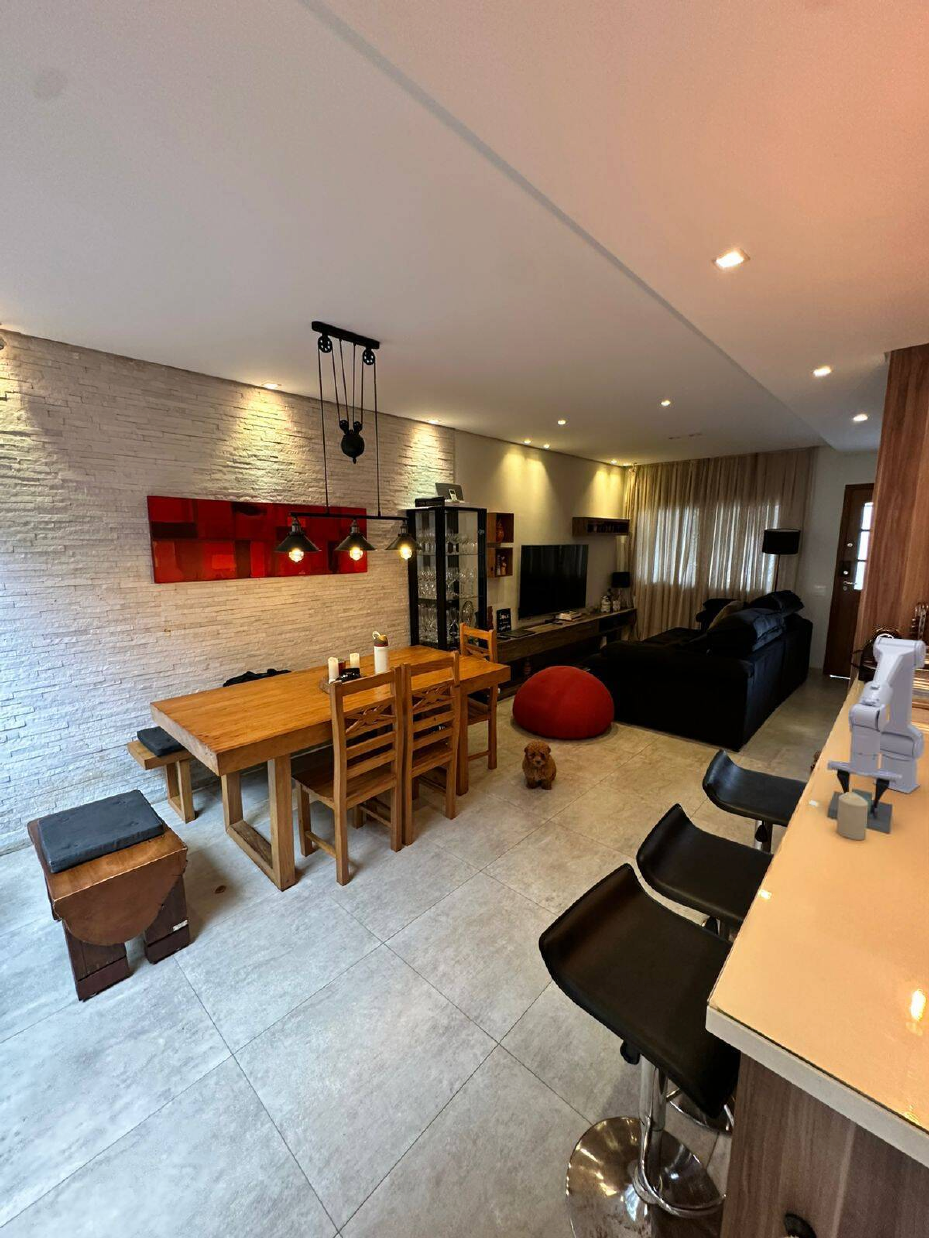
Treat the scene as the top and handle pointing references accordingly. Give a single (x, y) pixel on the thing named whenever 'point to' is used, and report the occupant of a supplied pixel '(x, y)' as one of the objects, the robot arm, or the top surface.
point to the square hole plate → (875, 819)
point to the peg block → (865, 795)
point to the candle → (852, 816)
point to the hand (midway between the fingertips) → (860, 802)
